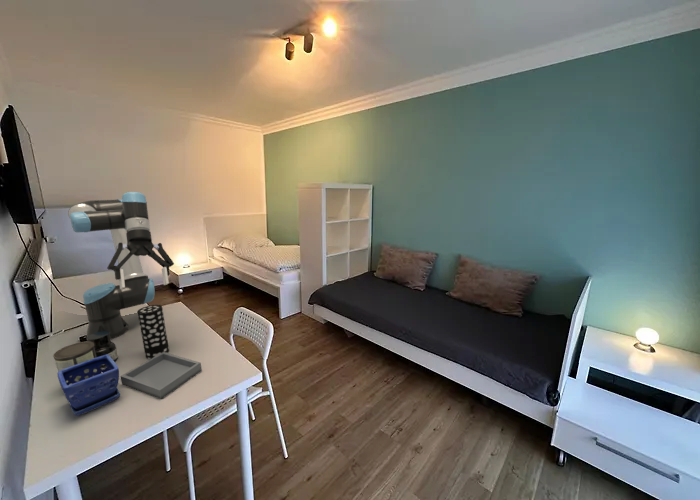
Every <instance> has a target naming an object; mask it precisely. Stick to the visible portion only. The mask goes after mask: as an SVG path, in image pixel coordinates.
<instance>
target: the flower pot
mask: <svg viewBox="0 0 700 500" xmlns="http://www.w3.org/2000/svg"><path fill="white" fill-rule="evenodd" d="M104 364H105V365H106V366H105V368H101V367H100V366H101V365H104ZM86 369H89V372H87V373H85V372H84V370H86ZM94 369H97V371H96V372H93V371H94ZM56 374H57V378H58V383H59V384H60V387H61V389H62V392H63V395H64V396H65V398H66V400H67V402H68V403H69V405H70V408H71V411H72V413H73V415H75V416H80V415H83V414H86V413H88V412H91V411H93V410H95V409H98V408H100V407H102V406H104V405H106V404H109V403H111V402H113V401H115V400H117V399H118V398H119V397H120V396H121V392H120V390H119V389H118V385H119V380H120V370H119V366H118V364H117V363H116V361H115V362H114V361H113V359H112V358H111V357H110V356H109V355H103V356H100V357H97V358H94V359H91V360H88V361H85V362H82V363H79V364H76V365H74V366H71V367H68V368H65V369H63V370H60V371H58V370H57V373H56ZM93 375H94V376H93ZM70 376H72V377H70ZM77 376H81V378H80V380H79V381H75V378H76V377H77ZM86 376H88V377H89V378H88V379H85V377H86ZM66 381H68V382H66ZM71 383H72V384H71ZM69 384H71V385H69Z"/></svg>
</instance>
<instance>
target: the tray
mask: <svg viewBox="0 0 700 500" xmlns="http://www.w3.org/2000/svg"><path fill="white" fill-rule="evenodd" d="M202 371H203V368H202V363H201V362H199V361H197V360H192V359H190V358H186V357H183V356H180V355H177V354H173V353H169V352H168V353H166V352H162V353H161V354H159V355H157V356H155V357H153V358H152V359H148V360H146V361H144V362H143V363H141V364H139V365H137V366H135V367H134V368H132V369H131V370H129V371H127V372H125V373H123V374H122V375H119V378H120V381H121V385H122V386H124V387H126V388H129V389H133V390H135V391H138V392H141V393H143V394H145V395H147V396H148V395H149V396H151V397H154V398H155V399H156V398H157V399H159V400H163V399H164V398H166V397H167V396H169V395H170V394H171V393H173V392H174V391H175V390H177V389H178V388H180V387H181V386H183V385H184V384H186V382H188V381H190V380H191V379H193V378H194V377H195V376H196V375H198V374H199V373H201V372H202Z"/></svg>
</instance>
